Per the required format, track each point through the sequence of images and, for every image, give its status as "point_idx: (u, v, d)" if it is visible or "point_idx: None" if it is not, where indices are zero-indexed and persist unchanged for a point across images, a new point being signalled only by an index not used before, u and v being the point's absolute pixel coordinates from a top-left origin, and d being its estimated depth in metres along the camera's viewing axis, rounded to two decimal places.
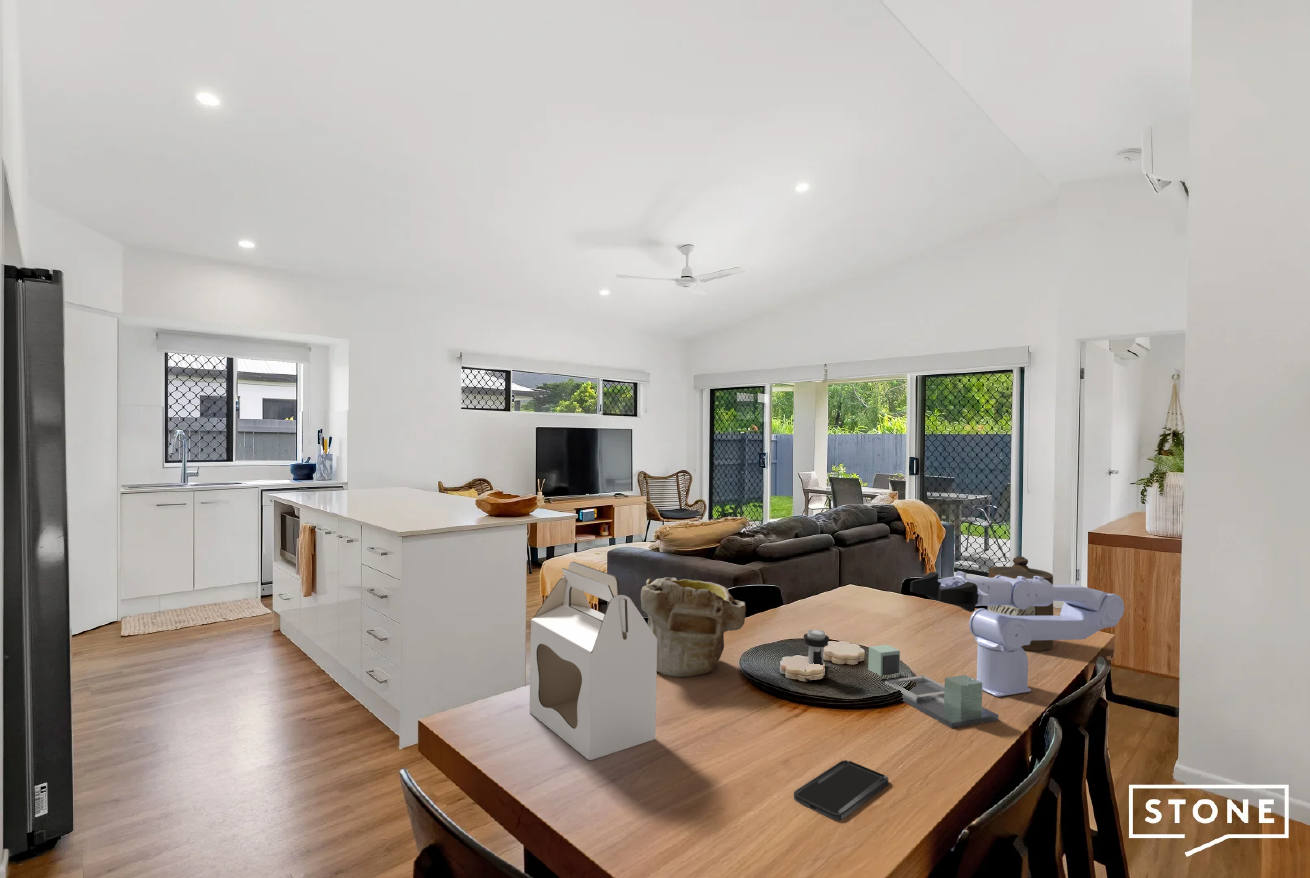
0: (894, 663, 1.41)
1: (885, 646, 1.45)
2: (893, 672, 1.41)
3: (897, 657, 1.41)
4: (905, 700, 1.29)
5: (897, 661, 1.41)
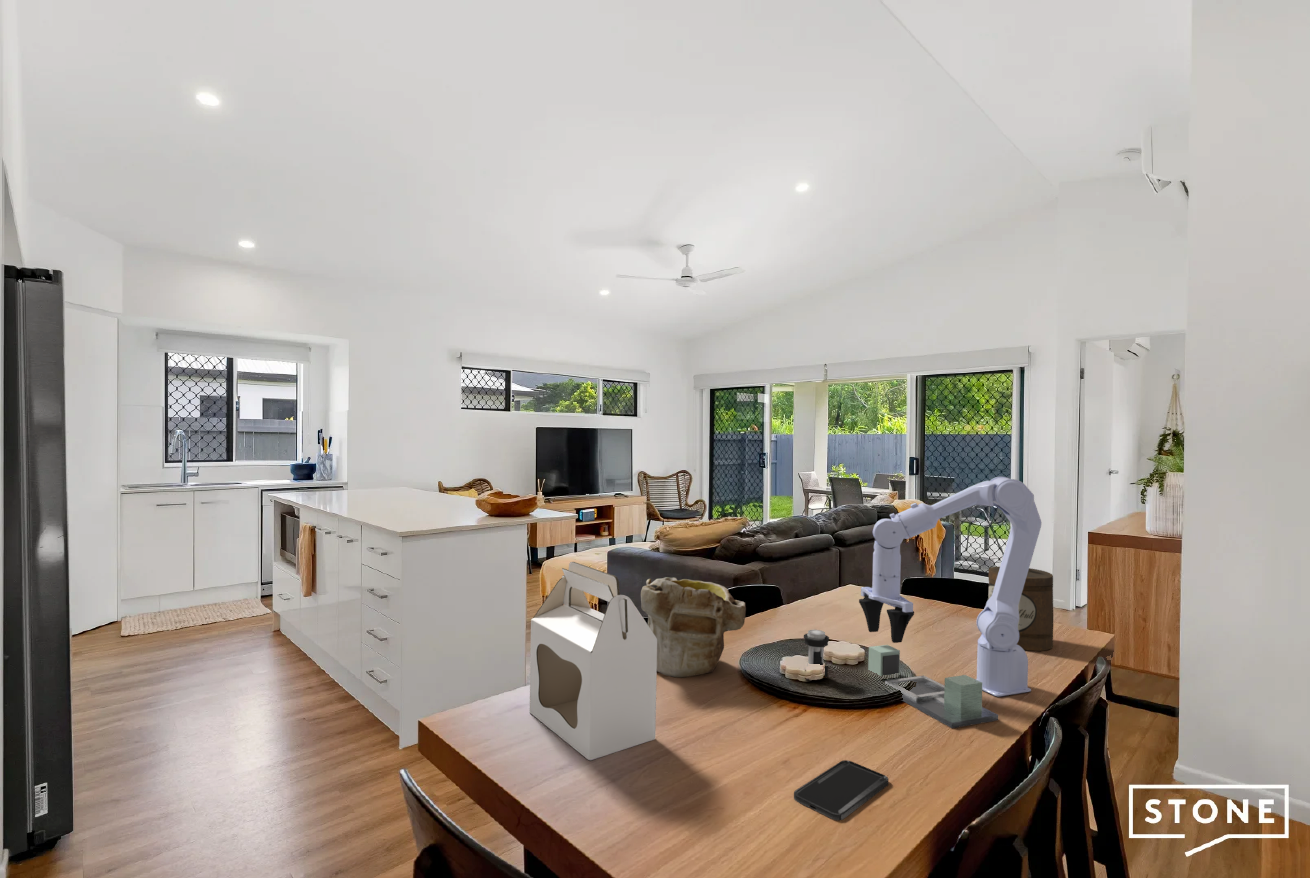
0: (894, 663, 1.41)
1: (885, 646, 1.45)
2: (893, 672, 1.41)
3: (897, 657, 1.41)
4: (905, 700, 1.29)
5: (897, 661, 1.41)
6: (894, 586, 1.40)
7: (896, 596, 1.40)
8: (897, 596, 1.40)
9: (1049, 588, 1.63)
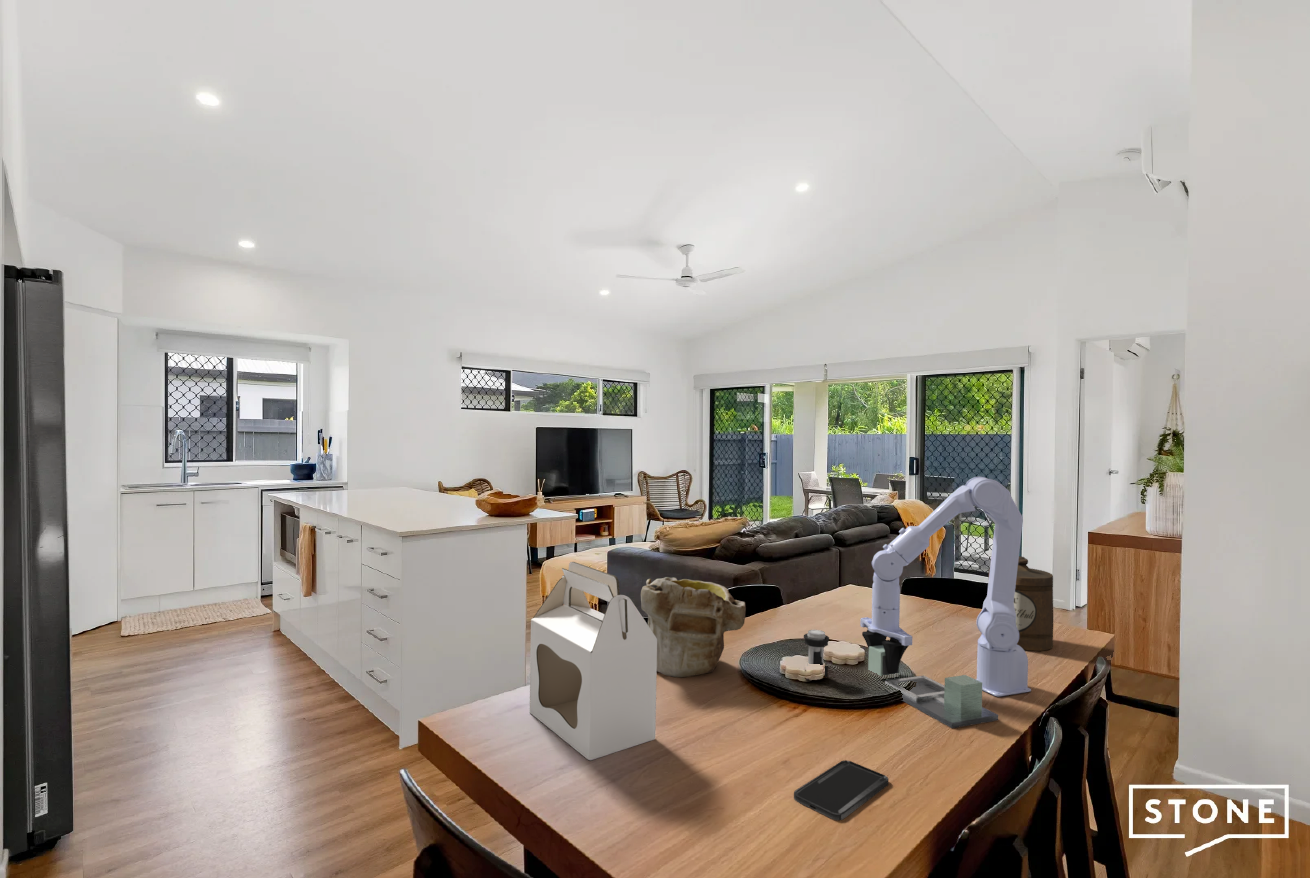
0: None
1: None
2: None
3: None
4: (905, 700, 1.29)
5: None
6: (893, 619, 1.40)
7: (895, 628, 1.40)
8: (896, 628, 1.41)
9: (1049, 588, 1.63)
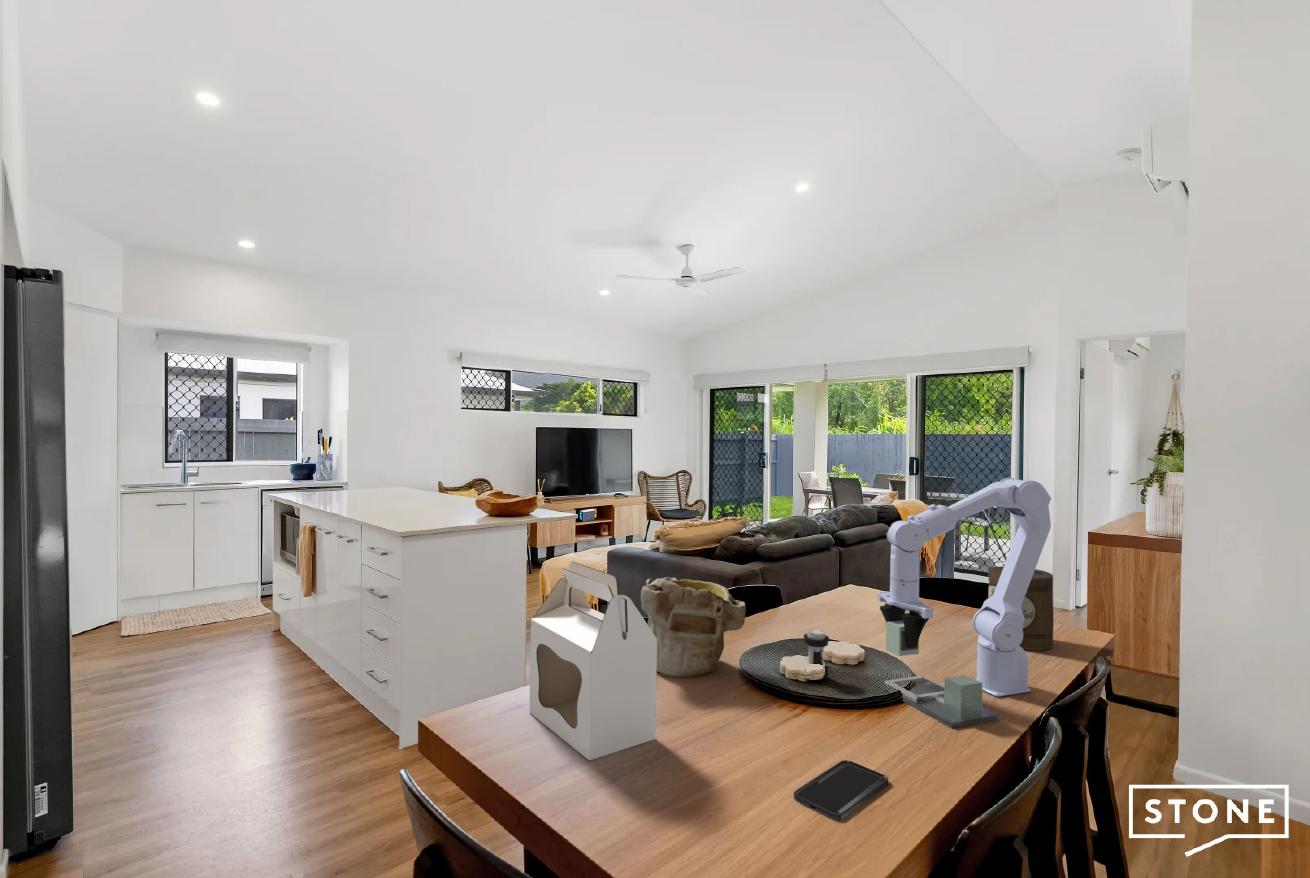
0: None
1: None
2: None
3: None
4: (905, 700, 1.29)
5: None
6: (912, 591, 1.35)
7: (915, 601, 1.35)
8: (916, 601, 1.35)
9: (1049, 588, 1.63)
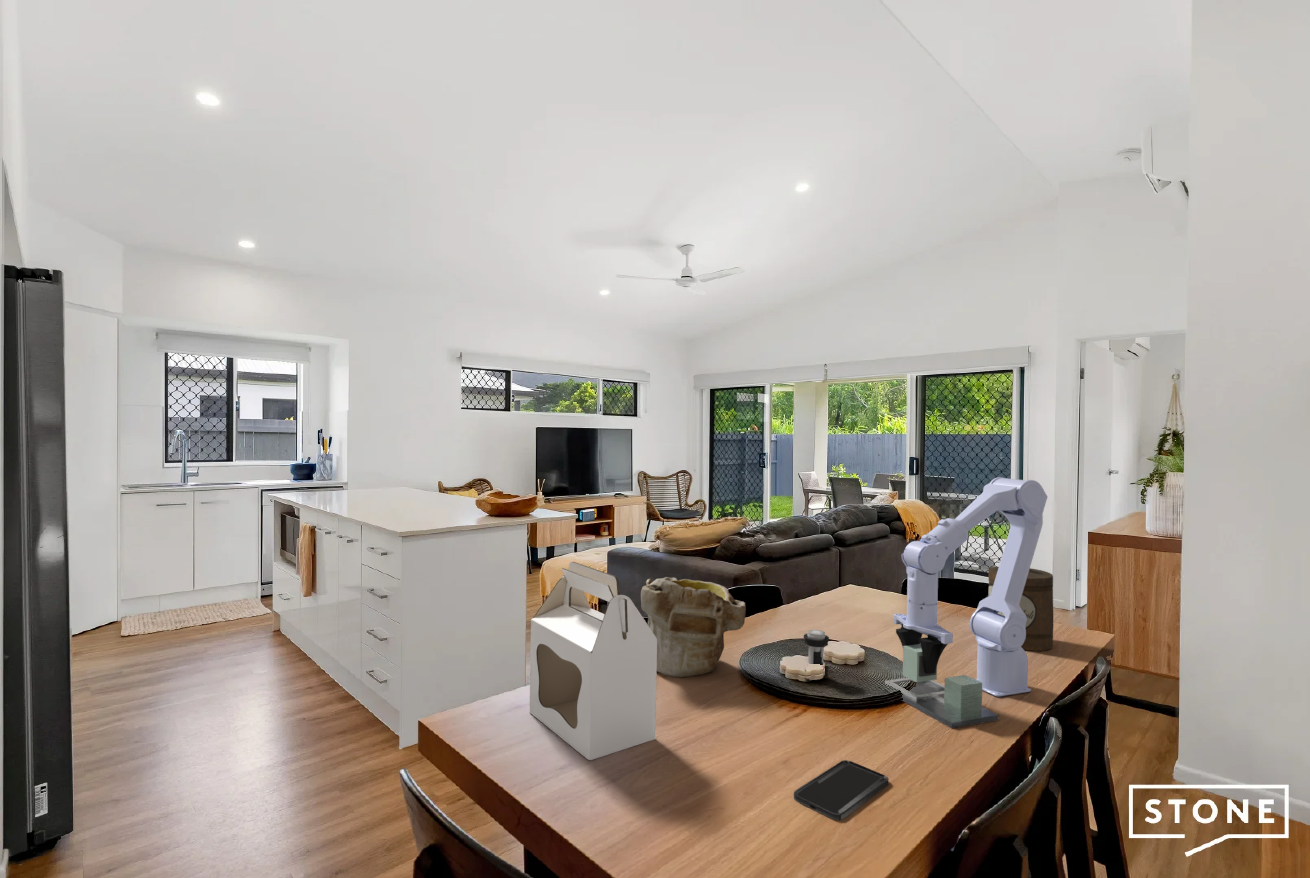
0: None
1: None
2: None
3: None
4: (905, 700, 1.29)
5: None
6: (931, 615, 1.30)
7: (933, 625, 1.30)
8: (934, 625, 1.30)
9: (1049, 588, 1.63)
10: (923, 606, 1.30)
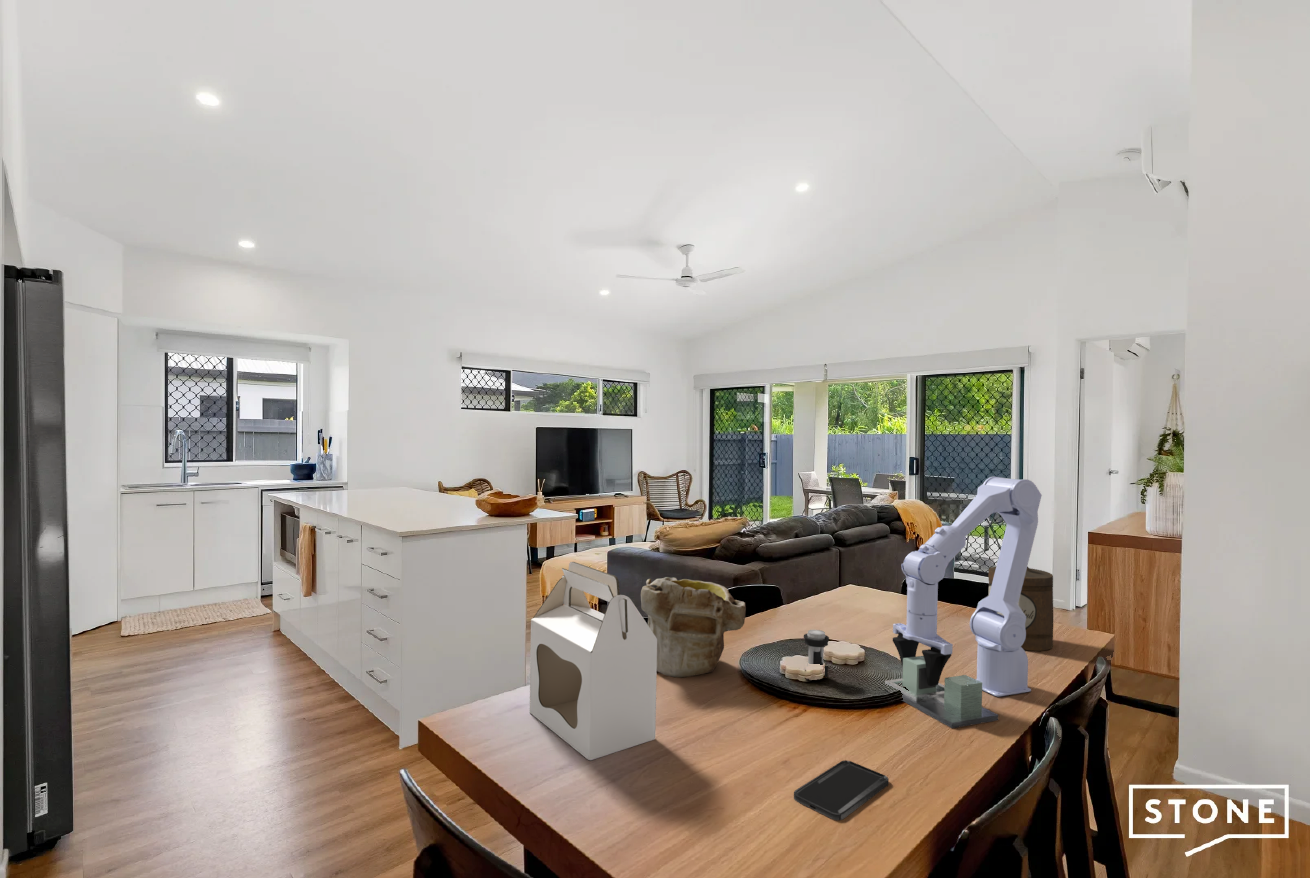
0: None
1: (920, 657, 1.34)
2: (930, 686, 1.31)
3: None
4: (905, 700, 1.29)
5: None
6: (931, 625, 1.30)
7: (933, 636, 1.30)
8: (934, 636, 1.30)
9: (1049, 588, 1.63)
10: (923, 616, 1.30)
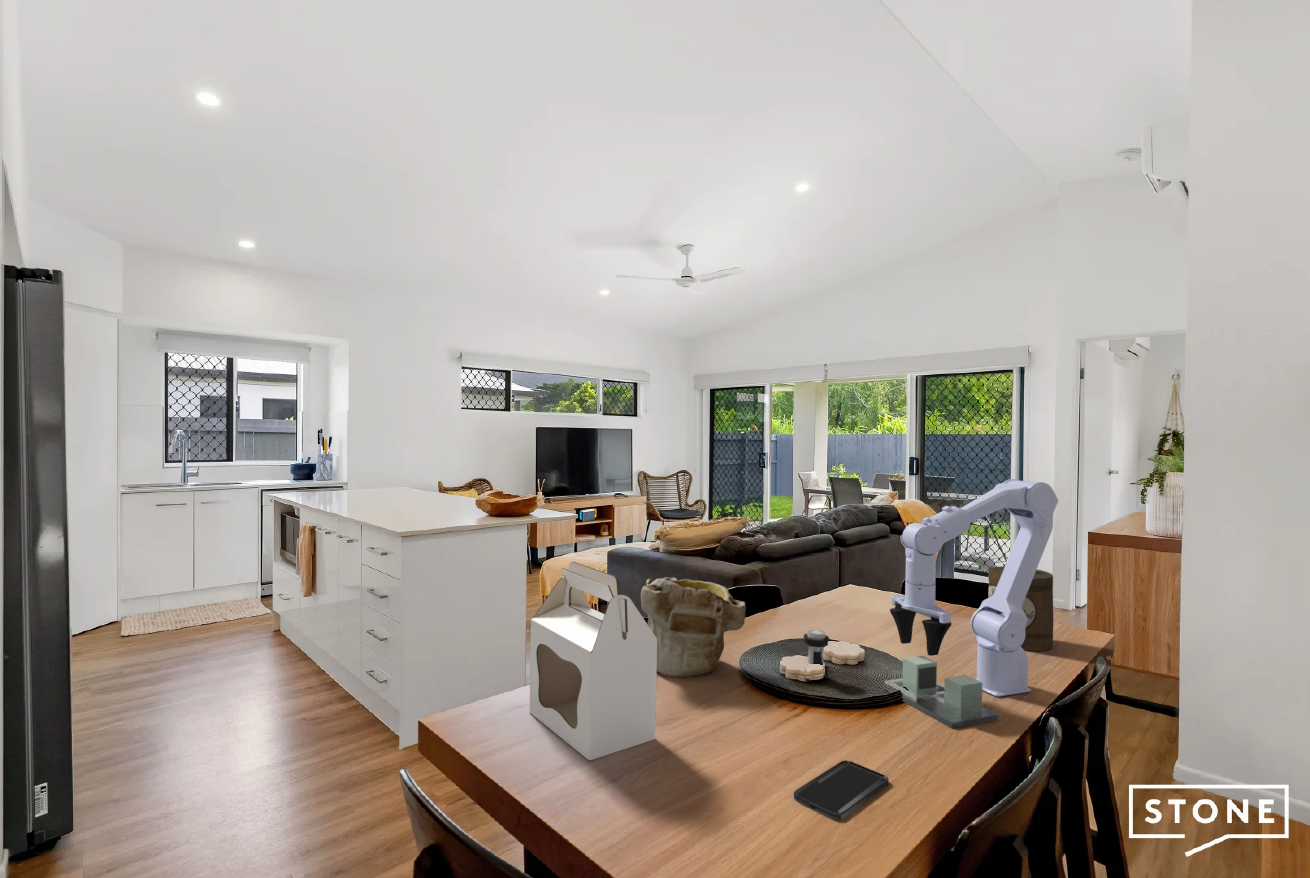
0: (931, 676, 1.31)
1: (920, 657, 1.34)
2: (930, 686, 1.31)
3: (934, 669, 1.31)
4: (905, 700, 1.29)
5: (934, 674, 1.31)
6: (929, 595, 1.31)
7: (931, 606, 1.32)
8: (932, 606, 1.32)
9: (1049, 588, 1.63)
10: (921, 587, 1.31)
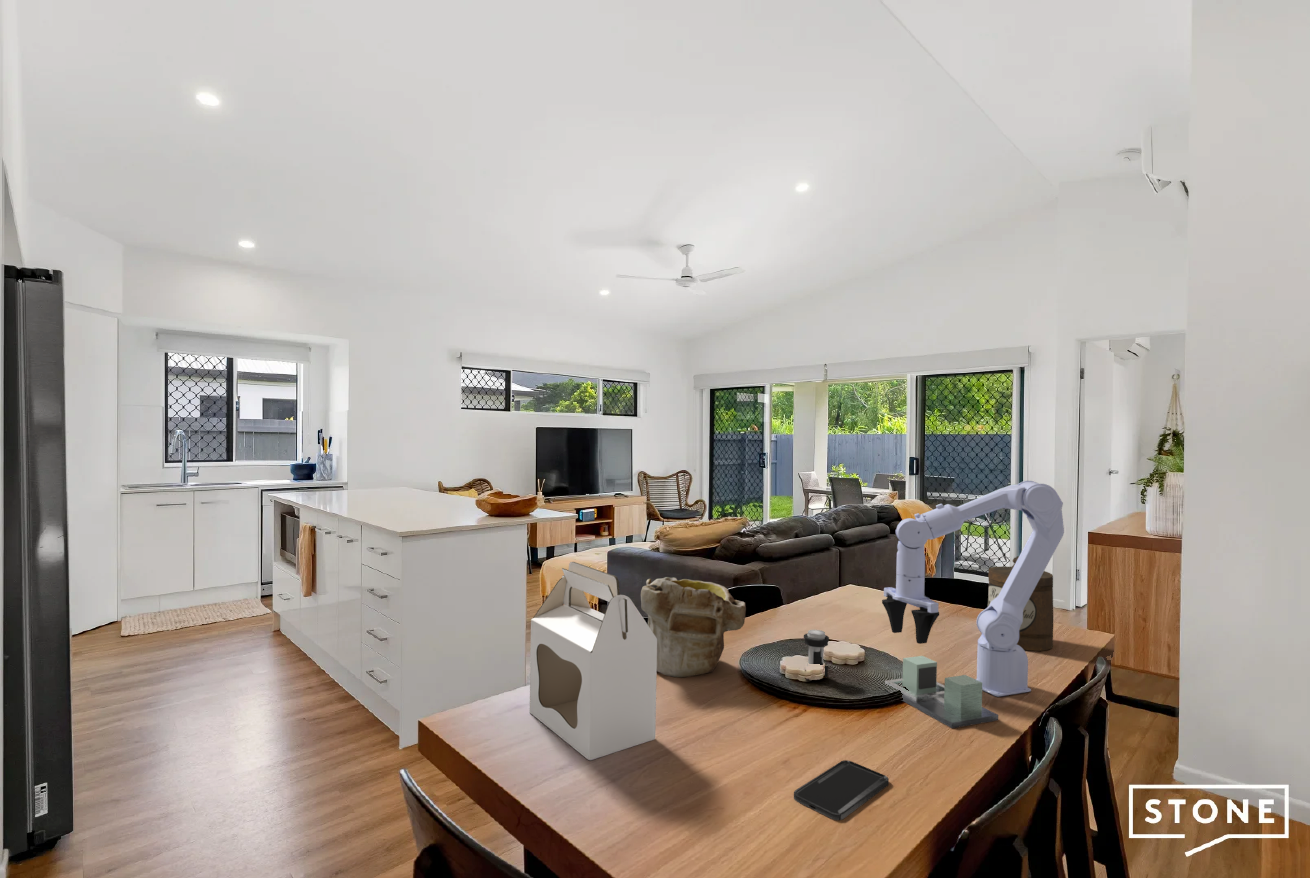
0: (931, 676, 1.31)
1: (920, 657, 1.34)
2: (930, 686, 1.31)
3: (934, 669, 1.31)
4: (905, 700, 1.29)
5: (934, 674, 1.31)
6: (918, 587, 1.39)
7: (921, 596, 1.39)
8: (921, 596, 1.39)
9: (1049, 588, 1.63)
10: (911, 578, 1.39)
